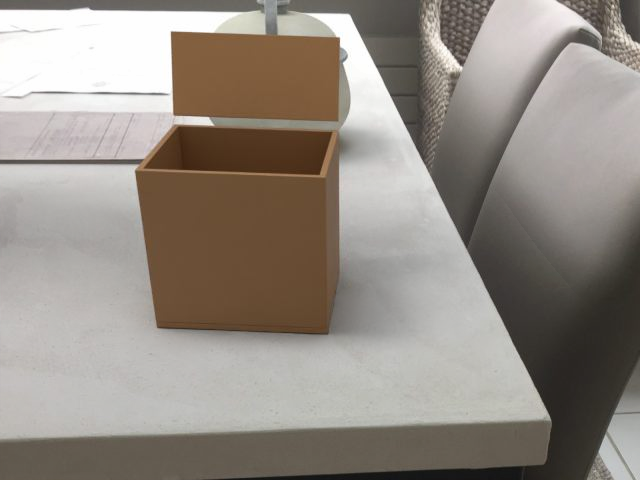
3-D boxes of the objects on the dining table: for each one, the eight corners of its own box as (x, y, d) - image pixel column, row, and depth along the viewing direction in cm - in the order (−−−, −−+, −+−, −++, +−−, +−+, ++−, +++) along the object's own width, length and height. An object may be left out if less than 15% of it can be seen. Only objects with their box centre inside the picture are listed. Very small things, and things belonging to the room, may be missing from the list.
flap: (170, 31, 73) (171, 32, 73) (173, 115, 75) (174, 115, 75) (339, 37, 73) (340, 38, 73) (338, 121, 75) (338, 121, 75)
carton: (156, 327, 73) (134, 170, 65) (189, 265, 83) (174, 124, 76) (327, 334, 73) (325, 177, 65) (339, 271, 83) (338, 130, 75)
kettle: (214, 122, 124) (196, -95, 108) (347, 123, 125) (347, -91, 110) (198, 178, 104) (172, -78, 89) (355, 179, 105) (357, -73, 90)
